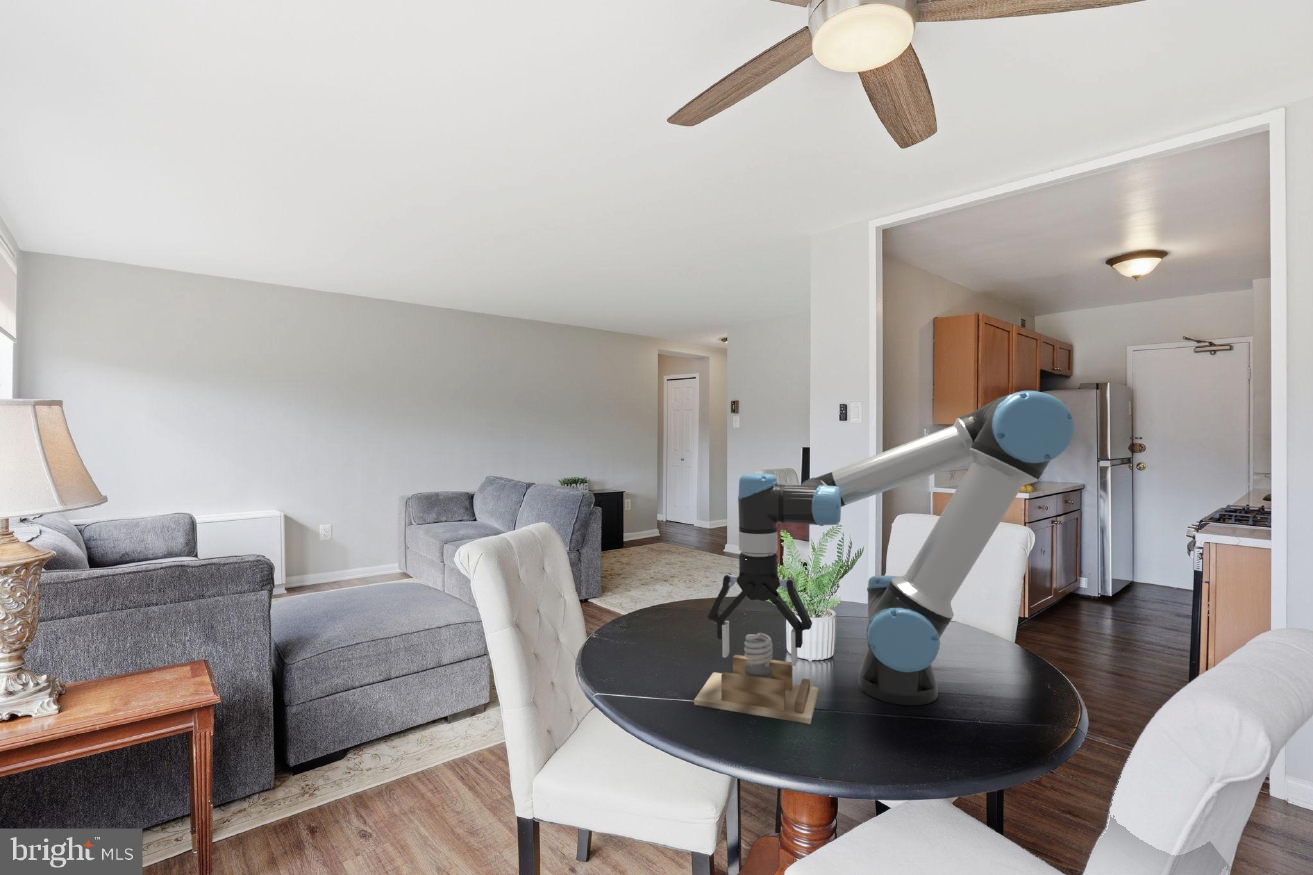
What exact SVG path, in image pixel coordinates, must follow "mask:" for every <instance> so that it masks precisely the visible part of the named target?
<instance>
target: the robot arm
mask: <svg viewBox="0 0 1313 875" xmlns="http://www.w3.org/2000/svg"><path fill="white" fill-rule="evenodd" d="M1074 434H1075V423H1074V419H1073V415H1072V413H1071V411H1070V410H1069V408H1068V406H1066V404H1064V402H1062V401H1061V400H1060V399H1059V398H1057V397H1055V396H1053V395H1051V394H1049V393H1045V392H1040V391H1038V390H1022V391H1017V392H1014V393H1011V394H1006V395H1003V396H1000V397H998V398H996V399H995V400H993V401H991V402H989V403H987V404H985V405H984V406H982V407H980V408H978V409H975V410H974V411H971V412H970V413H967V414H965V415H963V416H960V417H958V418H956V420H955V421H954V424H953V425H951V426H949V427H945V428H943V429H941V430H938V431H935V432H932V433H929V434H928V435H927V434H926V435H924V436H922V437H919V438H916V439H914V440H912V441H909V442H906V443H904V444H903V443H902V444H901V445H898V446H896V447H892V448H890V449H888V450H885V451H883V452H879V453H876V454H874V455H872V456H869V457H867V458H864V459H861V460H859V461H857V462H853V463H850V464H848V465H846V466H842V467H840V468H838V469H835V470H832V471H831V472H828V473H825V474H821V475H819V476H817V477H811V478H809V479H807V480H804V481H803V482H802V483H801V484H781V483H780V484H779V482H778V477H777V476H776V475H775V474H772V473H747V474H744V475H743V474H742V475H741V476H740V477H739V481H738V496H737V501H738V502H737V504H738V550H739V551H740V553H739V554H738V557H739V558H738V561H739V562H738V565H739V566H738V571H739V572H738V573H739V574H738V575H733V574H732V573H730V572H728V573H726V574H725V575H724V576H723V578H722V587H721V589H720V591H719V593H718V594H717V597H716V598H715V600H714V602H713V605H712V607H711V609H710V611H709V613H708V616H707V619H708V620H710V621H713V622H715V623H716V624H717V625H716V631H717V633H716V634H717V639H718V640H721V642H722V644H721V645H722V646H721V647H722V649H721V651H722V653H721V654H722V657H721V658H725V659H726V658H727V657H728V656H729V654H730V621H729V620H726V619H727V618H728V617H729V616H730V615H731V614H732V612H734V611H735V610H736V608H737V607H738V606H739V605H740V603H741V602H742V601H743V600H744V599H745V598H747V599H749V600H750V601H755V600H758V601H761V602H766V601H768V600H769V601H770V602H771V603H772V604H773V605H774V606H775V607H776V608H777V609H778V611H779V612H780V614H781V615H782V616H783V617H784V619H785V620H786V621H787V622H788V623H789V625H791V627H792V629H791V632H790V650H791V653H790V655H791V656H790V657H791V658H790V660H791V661H790V662H791V666H792V667H796V666H797V663H798V649H802V646H803V643H804V640H803V639H804V638H803V635H804V634H803V633H804V632H803V631H806V630H807V631H808V630H810V629H811V628H812V626H813V621H812V619H811V618H810V615H809V614H808V611H807V609H806V607H805V605H804V603H803V601H802V599H801V597H800V595H799V593H798V591H797V589H796V582H795V579H794V578H793V577H789V578H785V579H783V578H782V579H780V577H779V570H778V569H779V567H778V566H779V562H778V561H779V558H778V556H779V555H778V554H777V553H776V552H777V551H778V550H779V549H778V547H779V545H778V524H791V525H792V524H793V525H810V526H811V525H812V526H813V525H814V526H815V525H816V526H819V527H824V526H835V525H838V524H840V522H841V519H842V518H841V516H842V515H841V514H842V508H843V507H844V506H847V505H850V504H852V503H856V502H858V501H861V500H864V499H867V498H870V497H873V496H875V495H878V494H881V493H884V492H887V491H889V490H892V489H896V488H898V487H901V486H904V485H906V484H907V485H908V484H909V483H912V482H915V481H919V480H920V479H923V478H926V477H930V476H932V475H934V474H939V473H940V472H943V471H946V470H949V469H952V468H955V467H957V466H960V465H963V464H966V463H968V462H972V463H971V464H970V466H969V468H968V469H967V470H966V472H965V474H964V476H963V477H962V479H961V481H960V482H959V484H958V486H957V488H956V489H955V491H954V492H953V494H952V496H951V498H950V500H949V501H948V502H947V503H946V504H947V505H946V506H945V508H944V509H943V511H942V513H941V514H940V516H939V518H938V519H937V521H936V523H935V525H934V526H933V528H932V530H931V531H930V533H929V535H928V536H927V537H926V540H925V541H924V543H923V545H922V546H921V548H920V549H919V551H918V553H917V555H916V556H915V558H914V560H913V561H912V562H911V565H910V566H909V568H908V570H907V571H906V573H905V574H904V575H902V576H900V575H899V576H898V575H874V576H871V577H870V578H869V579H868V583H867V588H866V591H867V628H866V638H867V646H866V652H865V655H864V657H863V660H862V663H861V665H860V668H859V670H858V671H859V672H858V683H857V684H858V688H860V690H861V691H862V692H864V694H866V695H867V696H870V697H872V698H874V699H877V700H879V701H882V702H885V703H890V704H894V705H901V706H922V705H927V704H931V703H933V702H935V701H936V700H937V699H938V697H939V695H938V694H939V692H938V690H939V687H938V686H939V685H938V682H937V677H936V675H935V672H934V668H933V666H932V664H933V662H935V660H936V658H937V656H938V654H939V650H940V645H941V640H940V639H941V637H942V636H943V634H944V632H945V630H946V629H947V627H948V625H949V624H950V623H951V621H952V619H953V617H954V615H955V614H954V611H953V608H952V603H951V602H952V600H953V599H954V597H955V596H956V594H957V592H958V591H959V590H960V588H961V586H962V584H963V583H964V581H965V579H966V578H967V576H968V575H969V573H970V571H971V570H972V568H973V566H974V565H975V563H976V562H977V560H978V559H979V557H980V556H981V553H982V552H983V551H984V549H985V547H986V545H987V544H988V543H989V541H990V539H991V537H993V535H994V533H995V531H996V529H997V528H998V526H999V525H1000V523H1002V519H1003V518H1004V517H1005V515H1006V513H1007V512H1008V510H1009V508H1011V506H1012V504H1013V502H1014V500H1015V499H1016V497H1017V496H1018V494H1019V493H1020V491H1021V490H1022V487H1024V486H1025V485H1026V486H1027V485H1030V484H1033V483H1036V482H1037V483H1038V481H1039V479H1040V478H1041V476H1042V475H1043V474H1044V471H1045V470H1046V468H1047V467H1048V465H1049V464H1050V462H1051V461H1052V460H1054V459H1056V458H1058V457H1059V456H1060V455H1062V454H1063V453H1064V452H1065V451H1066V449H1068V447H1069V446H1070V444H1071V443H1072V440H1073V438H1074ZM745 559H747V560H745ZM735 583H736V584H737V585H738V586H739V588H740V589H741V591H740V593H739V594H738V595H737V596H736V597H735V598H734V600H733V601H731V603H730V604H729V605H728V606H727V607H726V608H725V610H724V611H723V612H722V613H721V614H720V613H718V612H719V611H720V610H721V606H722V605H723V603H724V601H725V599H726V597H727V595H728V593H729V590H730V589H731V587H733V586H734V585H735ZM780 586H781V587H782V588H783V590H784V591H786V592H787V594H788V597H789V599H790V601H791V603H792V605H793V607H794V609H795V611H796V613H797V615H798V617H797V615H796V614H795V613H794V612H793V611H792V609H791V608H790V607H789V605H788V604H787V603H786V602H785V600H784V599H783V598H782V596H781V594H780V593H779V592H778V591H777V590H778V589H779V588H780Z"/></svg>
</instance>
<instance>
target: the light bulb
mask: <svg viewBox="0 0 1313 875" xmlns="http://www.w3.org/2000/svg"><path fill="white" fill-rule="evenodd" d="M761 640H762V641H761ZM743 650H744V654H743V656H745V657H746V658H749V659H764V660H760V661H751V660H747V661H746V662H747V665H746V666H745V675H749V676H756V677H763V678H770V679H771V677H772V668H771V667H770V666H769V664H770V660H773V651H774V650H773V642H772V638H771V637H770V636H769V635H768V634H766V633H763V632H757V633H756V634H751V633H750V634H746V635H745V641H744V647H743Z"/></svg>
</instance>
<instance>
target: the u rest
mask: <svg viewBox="0 0 1313 875" xmlns="http://www.w3.org/2000/svg"><path fill="white" fill-rule="evenodd" d="M764 659H765V658H763V659H749V658H746V657H745V655H741V654H740V655H739V654H734V655H733V656H732V672H728V671H727V672H726V671H723V672H721V673H720V672H712V674H711V675H709V678H708V679H707V680H706V682H705V683H704V685H703V686H702V688H700V691H699V692H698V693H697V695H696V697H695V698H694V699H693V701H694V702H693V704H694V706H700V707H706V708H710V709H711V708H712V709H719V710H723V711H730V712H737V713H741V714H747V715H752V716H761V717H766V718H772V719H773V718H774V719H777V720H778V719H779V720H784V721H785V720H786V721H788V722H789V721H791V722H795V723H796V722H798V723H803V724H807V725H810V724H812V719H813V715H814V712H815V708H816V703H817V700H818V696H819V687H818V686H811V679H810V678H802V679H801V681H800V684H797V683H793V666H791V661H785V660H784V661H783V660H776V659H771V660H770V664H769V666H770V667H771V668H772V677H771V679H770V678H763V677H756V676H749V675H745V666H746V665H747V662H746V661H747V660H751V661H760V660H764Z"/></svg>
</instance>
